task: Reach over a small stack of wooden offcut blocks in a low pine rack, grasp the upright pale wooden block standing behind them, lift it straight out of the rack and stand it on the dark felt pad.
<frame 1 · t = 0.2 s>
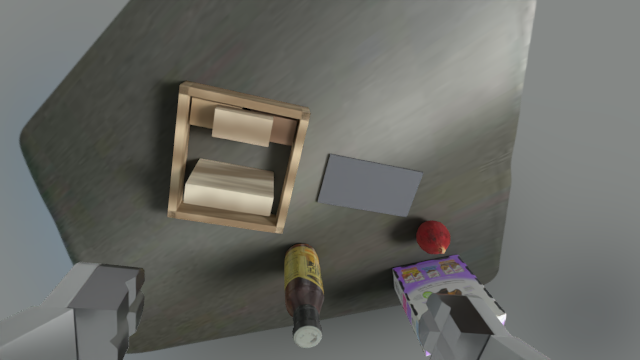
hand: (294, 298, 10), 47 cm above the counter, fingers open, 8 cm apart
pale wooden block: (236, 173, 59), resting in rack
offcut oak: (218, 111, 55), resting in rack
offcut beech: (244, 123, 53), point 3 cm above the counter
rack: (238, 158, 58), on the counter
sauce bottle: (300, 253, 67), on the counter
felt pad: (369, 186, 62), on the counter
candy box: (425, 270, 72), on the counter
offcut walnut: (272, 124, 56), resting in rack
onion: (424, 225, 67), on the counter
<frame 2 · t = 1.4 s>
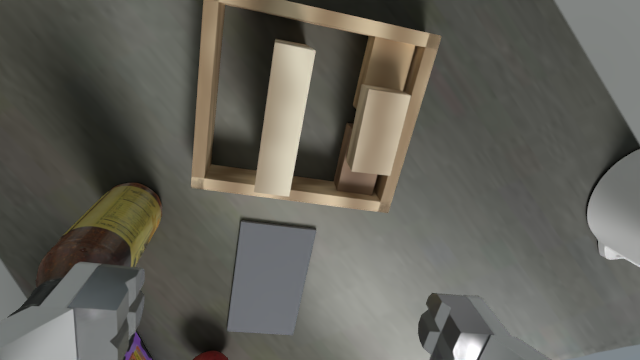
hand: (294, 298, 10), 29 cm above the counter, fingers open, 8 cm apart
pale wooden block: (281, 102, 37), resting in rack
offcut oak: (377, 75, 37), resting in rack, touching offcut beech
offcut beech: (372, 126, 36), point 3 cm above the counter, touching offcut oak
rack: (307, 106, 37), on the counter
sauce bottle: (138, 203, 40), on the counter
felt pad: (269, 281, 46), on the counter
offcut walnut: (356, 154, 41), resting in rack
onion: (213, 351, 50), on the counter
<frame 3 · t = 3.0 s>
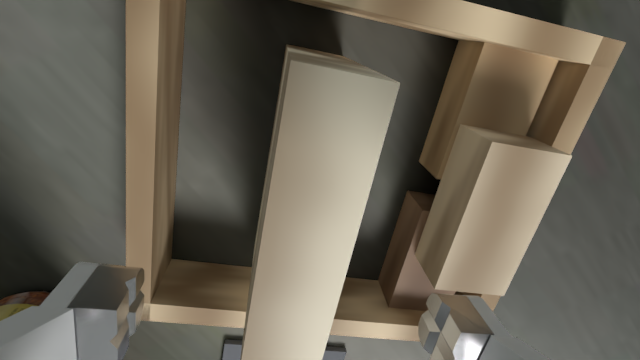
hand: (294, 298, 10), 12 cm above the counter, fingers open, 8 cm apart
pale wooden block: (294, 157, 21), resting in rack
offcut oak: (466, 110, 21), resting in rack, touching offcut beech
offcut beech: (468, 199, 20), point 3 cm above the counter, touching offcut oak
rack: (340, 164, 21), on the counter
sauce bottle: (50, 318, 24), on the counter
offcut walnut: (418, 238, 24), resting in rack
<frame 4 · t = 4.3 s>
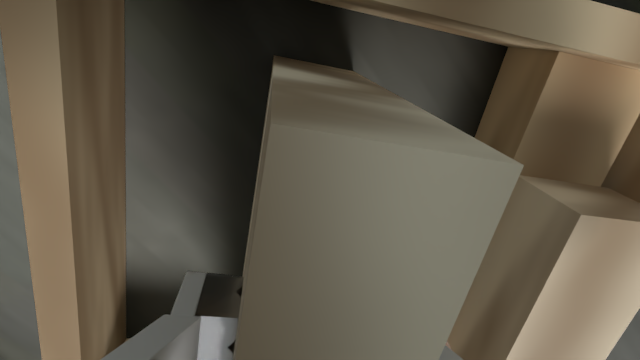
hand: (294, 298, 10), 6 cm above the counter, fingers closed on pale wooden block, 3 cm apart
pale wooden block: (287, 207, 15), resting in rack, touching gripper
offcut oak: (512, 139, 16), resting in rack, touching offcut beech
offcut beech: (520, 269, 15), point 3 cm above the counter, touching offcut oak
rack: (349, 214, 16), on the counter
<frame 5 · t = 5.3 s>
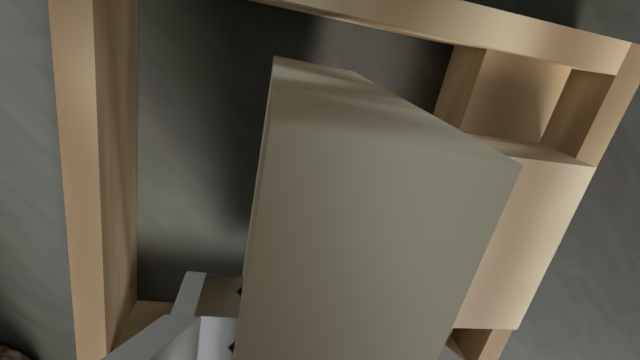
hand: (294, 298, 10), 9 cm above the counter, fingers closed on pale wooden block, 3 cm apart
pale wooden block: (287, 207, 15), point 3 cm above the counter, touching gripper
offcut oak: (464, 124, 18), resting in rack
offcut beech: (471, 217, 17), point 3 cm above the counter
rack: (327, 190, 18), on the counter
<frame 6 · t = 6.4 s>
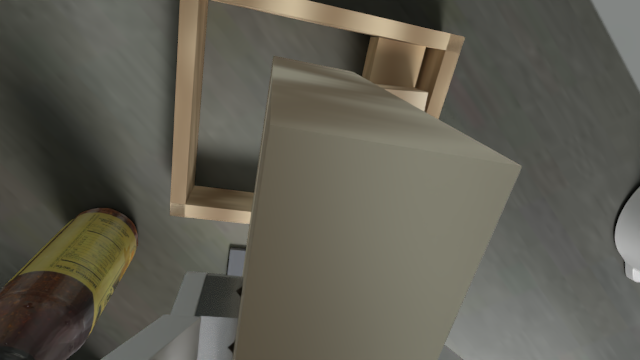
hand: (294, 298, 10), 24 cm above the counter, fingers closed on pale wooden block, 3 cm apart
pale wooden block: (287, 207, 15), point 18 cm above the counter, touching gripper
offcut oak: (381, 81, 32), resting in rack
offcut beech: (382, 131, 31), point 3 cm above the counter
rack: (305, 118, 32), on the counter
sauce bottle: (110, 230, 34), on the counter
felt pad: (263, 313, 41), on the counter
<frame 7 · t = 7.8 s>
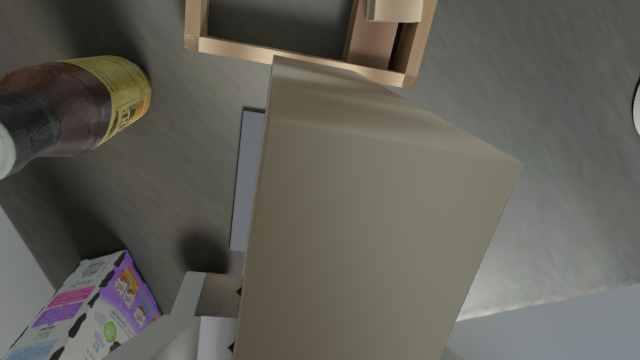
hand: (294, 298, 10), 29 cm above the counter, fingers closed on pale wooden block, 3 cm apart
pale wooden block: (287, 206, 15), point 24 cm above the counter, touching gripper
sauce bottle: (125, 86, 35), on the counter
felt pad: (276, 189, 41), on the counter
candy box: (130, 296, 44), on the counter
offcut walnut: (367, 27, 35), resting in rack
when the fingers open (7 cm above the counter, at t = 12.2 s): pale wooden block drops 1 cm, resting on felt pad.
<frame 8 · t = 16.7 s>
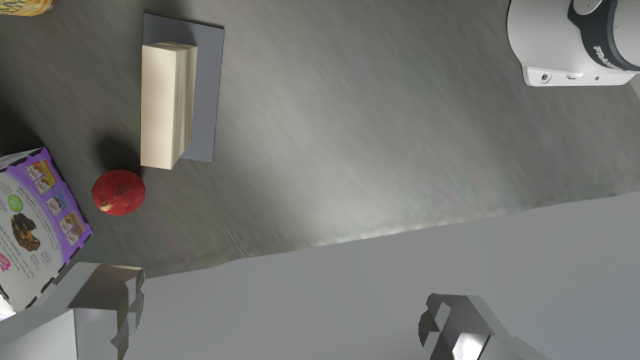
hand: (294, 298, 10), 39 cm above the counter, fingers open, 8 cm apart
pale wooden block: (181, 94, 44), resting on felt pad
felt pad: (181, 93, 45), on the counter
candy box: (52, 196, 48), on the counter
onion: (131, 180, 49), on the counter
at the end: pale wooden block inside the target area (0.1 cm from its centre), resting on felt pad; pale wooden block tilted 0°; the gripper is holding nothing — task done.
